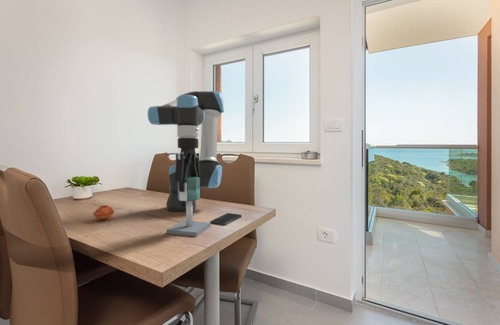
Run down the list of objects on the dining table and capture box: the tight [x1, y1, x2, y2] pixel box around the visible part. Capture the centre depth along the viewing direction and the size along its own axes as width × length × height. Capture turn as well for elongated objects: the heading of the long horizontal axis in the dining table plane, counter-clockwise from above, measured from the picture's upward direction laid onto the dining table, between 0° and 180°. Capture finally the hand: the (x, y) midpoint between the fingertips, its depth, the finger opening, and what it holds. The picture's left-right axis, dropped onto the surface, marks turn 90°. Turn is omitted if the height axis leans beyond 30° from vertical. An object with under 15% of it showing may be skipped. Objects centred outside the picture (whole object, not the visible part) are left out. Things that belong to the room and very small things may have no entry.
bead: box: [178, 177, 201, 201], centre depth 93 cm, size 8×8×8 cm
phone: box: [209, 212, 243, 226], centre depth 108 cm, size 8×1×15 cm
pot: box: [93, 205, 115, 222], centre depth 108 cm, size 8×8×7 cm
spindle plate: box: [166, 201, 211, 237], centre depth 94 cm, size 12×12×15 cm
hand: (189, 198), depth 94 cm, fingers closed on bead, 8 cm apart
